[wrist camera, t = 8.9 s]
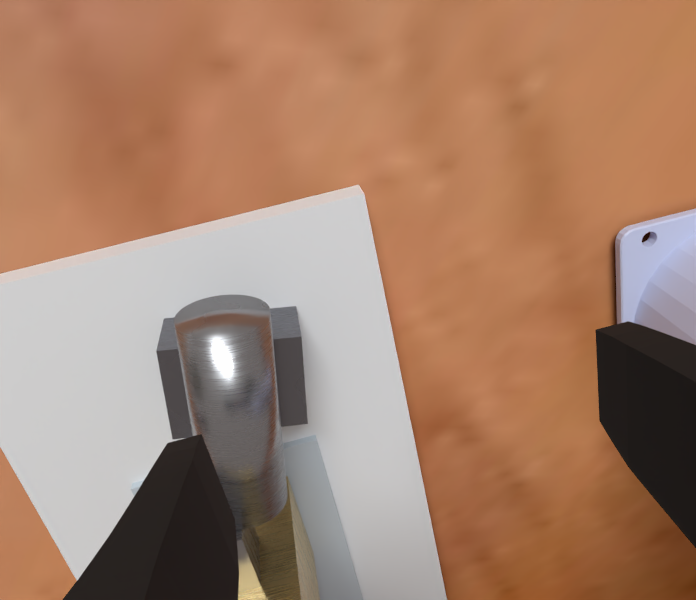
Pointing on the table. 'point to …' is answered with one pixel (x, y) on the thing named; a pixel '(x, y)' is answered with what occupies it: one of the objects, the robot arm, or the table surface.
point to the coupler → (277, 558)
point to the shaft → (236, 393)
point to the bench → (149, 401)
